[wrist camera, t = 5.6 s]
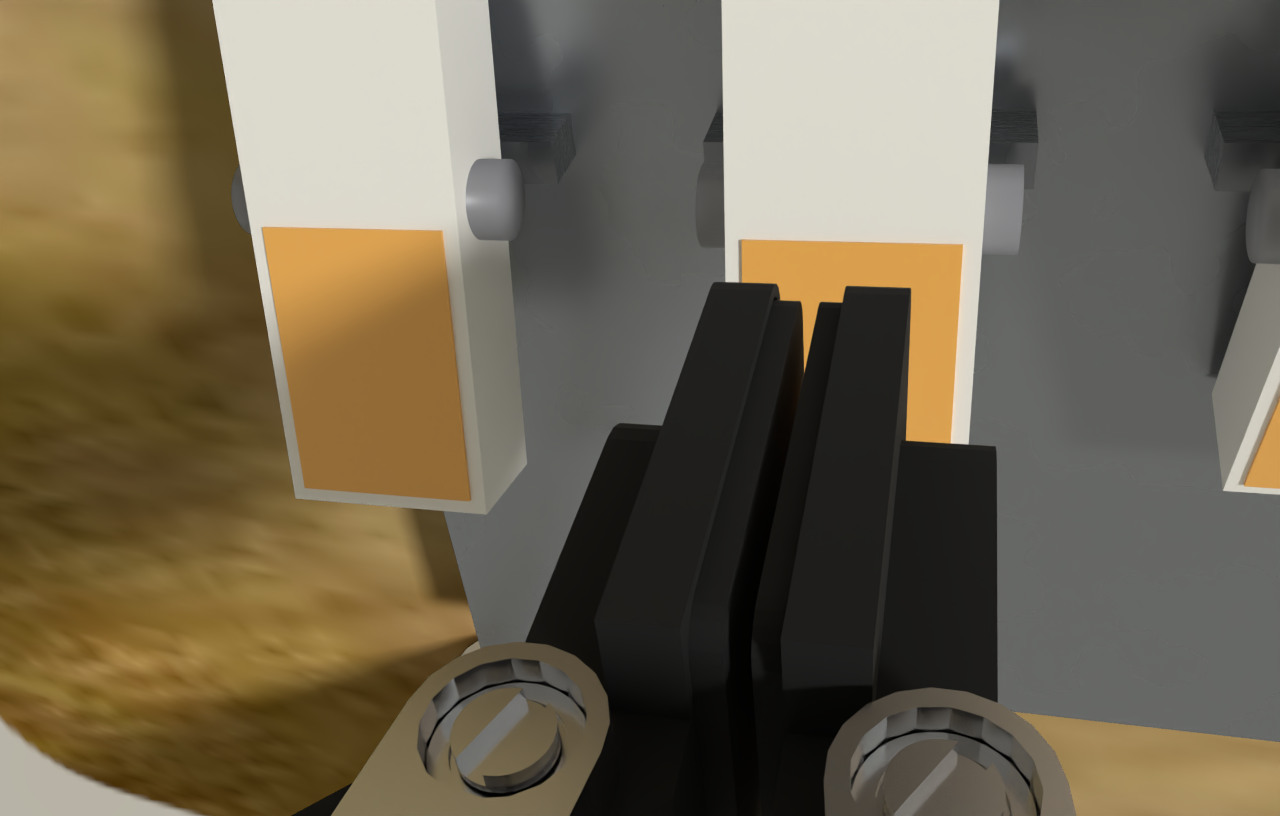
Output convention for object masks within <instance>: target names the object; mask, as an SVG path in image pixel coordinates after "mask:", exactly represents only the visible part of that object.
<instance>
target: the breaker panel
mask: <svg viewBox="0 0 1280 816" xmlns="http://www.w3.org/2000/svg"><path fill="white" fill-rule="evenodd" d="M488 6H489V18H490V30H491V42H492V54H493V66H494V78H495V89H496V101H497V113H498V125H499V137H500V149H501V159H513V160H515V161H516V163H517V164H518V166H519V168H520V170H521V173H522V177H523V181H524V188H525V213H524V220H523V224H522V228H521V231H520V233H519V235H518V236H517V238H516V239H515V240H513V241H508V244H509V255H510V267H511V279H512V291H513V303H514V315H515V327H516V338H517V350H518V362H519V374H520V386H521V398H522V410H523V421H524V433H525V445H526V457H527V465H526V466H525V467H524V468H523V470H522V471H521V472H520V473H519V475H518V476H517V477H516V478H515V480H514V481H513V482H512V483H511V485H510V486H509V487H508V488H507V490H506V491H505V492H504V493H503V495H502V496H501V497H500V498H499V500H498V501H497V502H496V503H495V505H494V506H493V507H492V508H491V510H490V511H489V512H488V513H487V515H486V514H474V513H462V512H450V511H443V512H444V515H445V519H446V523H447V527H448V530H449V534H450V538H451V541H452V545H453V549H454V552H455V556H456V560H457V563H458V567H459V571H460V574H461V578H462V582H463V586H464V589H465V593H466V597H467V600H468V604H469V608H470V611H471V615H472V619H473V622H474V626H475V630H476V634H477V637H478V641H479V645H480V648H483V647H486V646H491V645H498V644H506V643H513V642H525V641H526V638H527V636H528V633H529V631H530V628H531V626H532V623H533V621H534V618H535V616H536V613H537V611H538V609H539V606H540V604H541V601H542V599H543V596H544V594H545V591H546V589H547V586H548V584H549V581H550V579H551V576H552V574H553V571H554V569H555V566H556V564H557V561H558V559H559V556H560V554H561V551H562V549H563V546H564V544H565V542H566V539H567V537H568V534H569V532H570V529H571V527H572V524H573V522H574V519H575V517H576V514H577V512H578V509H579V507H580V504H581V502H582V499H583V497H584V494H585V492H586V489H587V487H588V484H589V482H590V479H591V477H592V475H593V472H594V470H595V467H596V465H597V462H598V460H599V457H600V455H601V452H602V450H603V447H604V445H605V442H606V440H607V438H608V436H609V434H610V432H611V430H612V428H613V427H614V426H616V425H617V424H618V423H630V424H646V425H663V422H664V419H665V416H666V413H667V410H668V407H669V405H670V402H671V399H672V396H673V393H674V390H675V387H676V385H677V382H678V379H679V376H680V373H681V370H682V367H683V365H684V362H685V359H686V356H687V353H688V350H689V347H690V345H691V342H692V339H693V336H694V333H695V330H696V327H697V325H698V322H699V319H700V316H701V313H702V310H703V307H704V305H705V302H706V299H707V296H708V293H709V290H710V288H711V286H712V284H713V283H714V282H725V248H702V247H701V246H700V244H699V242H698V238H697V232H696V221H695V198H696V186H697V180H698V174H699V171H700V168H701V165H702V164H703V163H704V162H711V163H724V142H723V71H722V0H488ZM988 164H1023V165H1024V196H1023V212H1022V225H1021V235H1020V244H1019V250H1018V254H1017V255H991V254H982V258H981V272H980V287H979V301H978V315H977V330H976V344H975V359H974V373H973V387H972V402H971V416H970V431H969V445H985V446H996V451H997V629H998V703H999V704H1002V705H1003V706H1005V707H1006V708H1008V709H1009V710H1011V711H1013V712H1022V713H1031V714H1039V715H1048V716H1057V717H1066V718H1074V719H1083V720H1092V721H1101V722H1109V723H1118V724H1127V725H1136V726H1144V727H1153V728H1162V729H1171V730H1180V731H1188V732H1197V733H1206V734H1215V735H1223V736H1232V737H1241V738H1250V739H1258V740H1267V741H1276V742H1280V495H1277V494H1262V493H1247V492H1233V491H1223V487H1222V479H1221V470H1220V461H1219V452H1218V444H1217V435H1216V426H1215V417H1214V409H1213V400H1212V391H1213V389H1214V386H1215V383H1216V380H1217V377H1218V374H1219V371H1220V368H1221V365H1222V362H1223V359H1224V356H1225V353H1226V351H1227V348H1228V345H1229V342H1230V339H1231V336H1232V333H1233V330H1234V327H1235V324H1236V321H1237V318H1238V316H1239V313H1240V310H1241V307H1242V304H1243V301H1244V298H1245V295H1246V292H1247V289H1248V286H1249V283H1250V280H1251V278H1252V275H1253V272H1254V269H1255V266H1256V263H1252V262H1251V261H1250V260H1249V257H1248V254H1247V248H1246V218H1247V209H1248V203H1249V197H1250V193H1251V189H1252V185H1253V182H1254V180H1255V177H1256V175H1257V173H1258V172H1259V171H1260V170H1261V169H1280V0H999V13H998V27H997V42H996V56H995V71H994V85H993V99H992V114H991V128H990V143H989V157H988Z"/></svg>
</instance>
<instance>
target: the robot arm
mask: <svg viewBox="0 0 1280 816" xmlns="http://www.w3.org/2000/svg"><path fill="white" fill-rule="evenodd" d="M910 320H911V288H903V287H871V286H846V287H845V292H844V296H843V302H820V303H819V306H818V311H817V316H816V320H815V325H814V330H813V334H812V339H811V344H810V349H809V353H808V358H807V363H806V368H805V372H804V342H803V311H802V304H801V301H785V300H780V293H779V287H778V285H777V284H774V283H742V282H714V283H713V284H712V286H711V288H710V290H709V293H708V296H707V299H706V302H705V305H704V307H703V310H702V313H701V316H700V319H699V322H698V325H697V327H696V330H695V333H694V336H693V339H692V342H691V345H690V347H689V350H688V353H687V356H686V359H685V362H684V365H683V367H682V370H681V373H680V376H679V379H678V382H677V385H676V387H675V390H674V393H673V396H672V399H671V402H670V405H669V407H668V410H667V413H666V416H665V419H664V422H663V425H646V424H630V423H618V424H617V425H616V426H614V427H613V428H612V430H611V432H610V434H609V436H608V438H607V440H606V442H605V445H604V447H603V450H602V452H601V455H600V457H599V460H598V462H597V465H596V467H595V470H594V472H593V475H592V477H591V479H590V482H589V484H588V487H587V489H586V492H585V494H584V497H583V499H582V502H581V504H580V507H579V509H578V512H577V514H576V517H575V519H574V522H573V524H572V527H571V529H570V532H569V534H568V537H567V539H566V542H565V544H564V546H563V549H562V551H561V554H560V556H559V559H558V561H557V564H556V566H555V569H554V571H553V574H552V576H551V579H550V581H549V584H548V586H547V589H546V591H545V594H544V596H543V599H542V601H541V604H540V606H539V609H538V611H537V613H536V616H535V618H534V621H533V623H532V626H531V628H530V631H529V633H528V636H527V638H526V641H525V642H513V643H506V644H498V645H491V646H486V647H483V648H481V649H478V650H475V651H473V652H470V653H467V654H465V655H462V656H460V657H457V658H455V659H454V660H452V661H451V662H449V663H448V664H446V665H445V666H443V667H442V668H440V669H439V670H438V671H436V672H435V673H433V674H432V675H430V676H429V677H428V678H427V679H426V681H425V682H424V683H423V684H422V685H421V686H420V687H419V688H418V690H417V691H416V692H415V693H414V694H413V695H412V696H411V697H410V699H409V700H408V701H407V703H406V704H405V706H404V707H403V709H402V710H401V712H400V713H399V715H398V716H397V718H396V719H395V721H394V722H393V724H392V725H391V727H390V728H389V730H388V731H387V733H386V734H385V736H384V737H383V739H382V740H381V742H380V743H379V745H378V746H377V748H376V749H375V751H374V752H373V754H372V755H371V757H370V758H369V760H368V761H367V763H366V764H365V766H364V767H363V769H362V770H361V772H360V773H359V775H358V776H357V778H356V779H355V781H354V782H353V783H351V784H350V785H348V786H346V787H344V788H342V789H340V790H338V791H337V792H335V793H333V794H331V795H329V796H327V797H325V798H323V799H322V800H320V801H318V802H316V803H314V804H312V805H310V806H309V807H307V808H305V809H303V810H301V811H299V812H297V813H295V814H294V815H292V816H1076V812H1075V808H1074V804H1073V800H1072V795H1071V791H1070V787H1069V783H1068V780H1067V778H1066V776H1065V774H1064V771H1063V769H1062V767H1061V764H1060V762H1059V760H1058V757H1057V755H1056V753H1055V751H1054V750H1053V749H1052V747H1051V746H1050V745H1049V744H1048V743H1047V742H1046V741H1045V739H1044V738H1043V737H1042V736H1041V735H1040V734H1039V732H1038V731H1037V730H1036V729H1035V728H1034V727H1033V726H1032V725H1031V724H1030V723H1028V722H1027V721H1026V720H1024V719H1023V718H1021V717H1020V716H1018V715H1017V714H1015V713H1014V712H1012V711H1011V710H1009V709H1008V708H1006V707H1005V706H1003V705H1002V704H999V703H998V629H997V451H996V446H985V445H968V444H952V443H936V442H920V441H906V424H907V398H908V372H909V346H910Z"/></svg>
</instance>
